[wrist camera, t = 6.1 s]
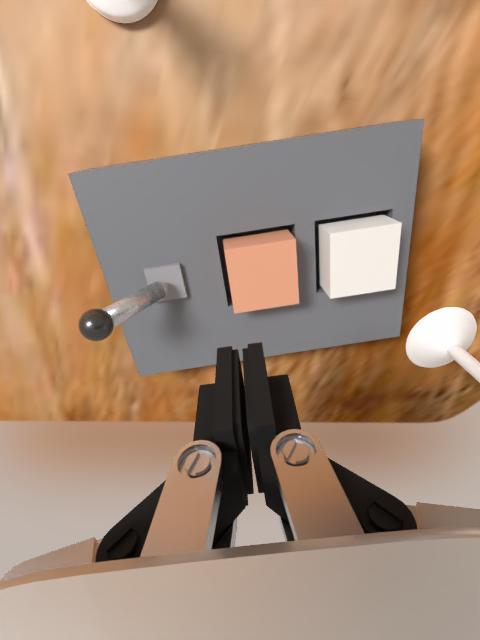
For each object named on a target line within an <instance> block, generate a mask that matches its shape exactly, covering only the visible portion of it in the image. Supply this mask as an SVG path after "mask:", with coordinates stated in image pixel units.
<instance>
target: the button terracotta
mask: <svg viewBox="0 0 480 640" xmlns="http://www.w3.org/2000/svg"><path fill="white" fill-rule="evenodd" d="M223 245H224V253H225V259H226V265H227V271H228V278H229V284H230V290H231V296H232V302H233V309H234V314H235V313H242V312H248V311H255V310H261V309H268V308H274V307H281V306H287V305H294V304H299V289H298V271H297V252H296V239H295V237H294V236H293V235H292V234H291V233H290V232H289V230H288V229H286V230H280V231H273V232H267V233H260V234H254V235H247V236H241V237H234V238H228V239H223Z"/></svg>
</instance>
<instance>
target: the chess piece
mask: <svg viewBox="0 0 480 640" xmlns="http://www.w3.org/2000/svg"><path fill="white" fill-rule="evenodd" d="M86 1H87V2H88V3H89V4H90V5H91V7H92V8H93V9H94V10H96V11H97V12H98V13H99V14H101V15H102V16H104V17H105V18H107V19H109V20H111V21H114V22H118V23H133V22H136V21H139V20H141V19H142V18H144V17H145V16H147V15H148V14H149V13H150V12H151V11H152V9H153V8H154V7H155V5H156V3H157V1H158V0H86Z"/></svg>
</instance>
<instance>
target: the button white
mask: <svg viewBox="0 0 480 640" xmlns="http://www.w3.org/2000/svg"><path fill="white" fill-rule="evenodd" d="M401 226H402V223H401V222H399V221H397V220H395V219H392V218H390V217H388V216H385V215H377V216H371V217H364V218H358V219H351V220H345V221H338V222H332V223H325V224H319V271H320V286H321V287H322V288H323V290H324V291H325V292H326V294H327V295H328V296H329V298H330V299H333V298H339V297H346V296H352V295H359V294H365V293H372V292H378V291H385V290H391V289H395V287H396V277H397V267H398V256H399V246H400V236H401Z"/></svg>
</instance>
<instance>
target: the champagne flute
mask: <svg viewBox="0 0 480 640" xmlns="http://www.w3.org/2000/svg"><path fill="white" fill-rule="evenodd" d="M476 329H477V325H476V320H475V318H474V316H473V315H472V314H471V313H470V312H469V311H467V310H465V309H463V308H459V307H447V308H442V309H438V310H436V311H434V312H431V313H429V314H428V315H426V316H425V317H423V318H422V319H421V320H420V321H419V322H417V324H416V325H415V326H414V327H413V328H412V330H411V332H410V333H409V335H408V338H407V341H406V353H407V356H408V357H409V359H410V360H411V361H412V362H413V363H414V364H416V365H418V366H421V367H429V368H432V367H439V366H442V365H445V364H448V363H450V362H452V361H454V360H455V361H456V362H457V363H458V364H460V365H461V366H462V367H463V368H464V369H465V370H466V371H467V372H468V373H469V374H471V375H472V376H473V377H474V378H475V379H476V380H477V381H478V382H479V383H480V362H479V361H477V360H476V359H475V358H474V357H473V356H471V355H470V354H469V353H468V352H467V351H466V350H467V349H468V348H469V346H470V345H471V344H472V342H473V340H474V338H475V335H476Z"/></svg>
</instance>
